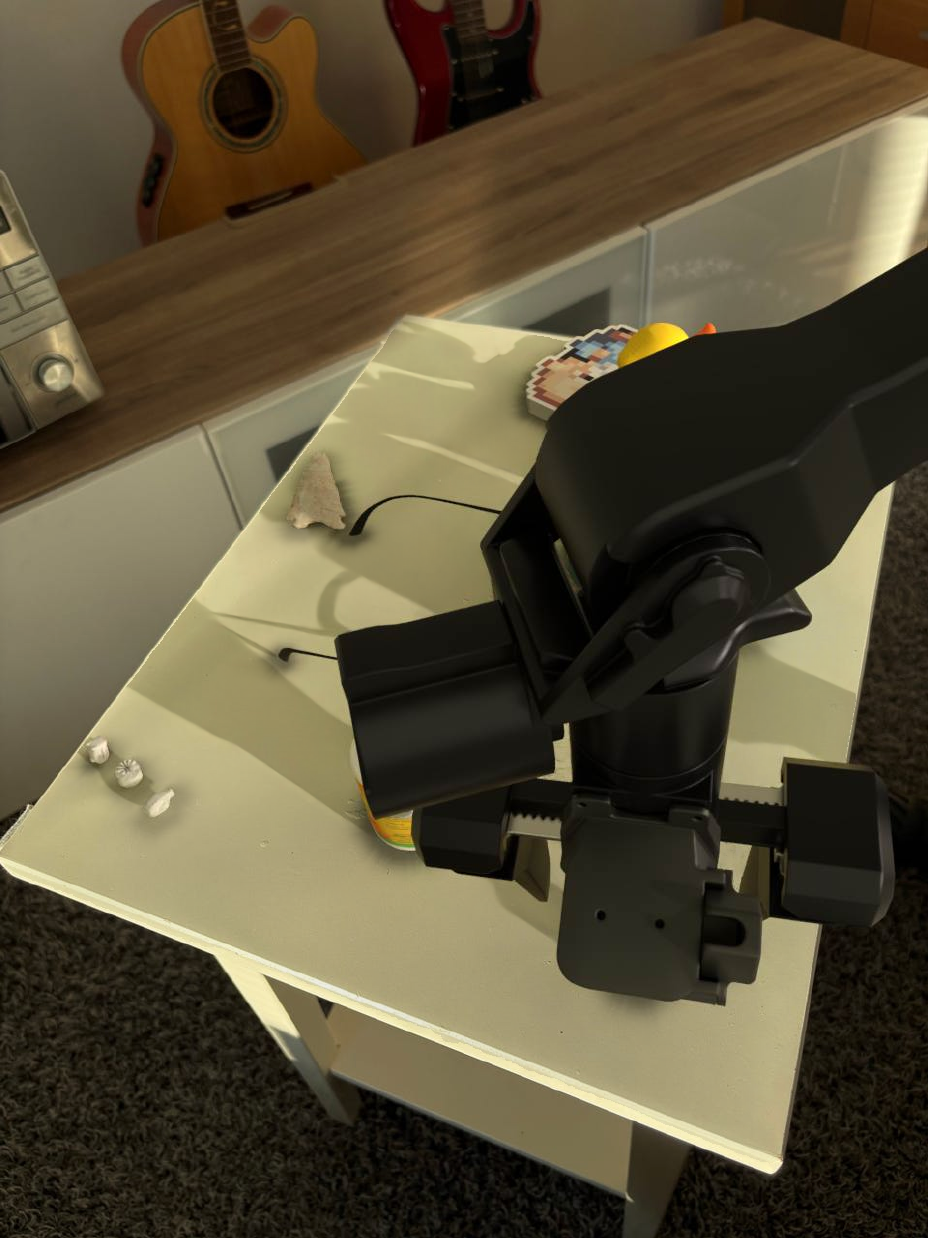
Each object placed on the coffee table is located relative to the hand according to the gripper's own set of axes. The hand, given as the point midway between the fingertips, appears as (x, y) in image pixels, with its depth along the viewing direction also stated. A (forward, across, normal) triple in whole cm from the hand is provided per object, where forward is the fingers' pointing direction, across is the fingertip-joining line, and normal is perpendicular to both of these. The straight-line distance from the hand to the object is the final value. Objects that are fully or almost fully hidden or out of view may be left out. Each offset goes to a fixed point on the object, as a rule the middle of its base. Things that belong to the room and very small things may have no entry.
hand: (640, 906), depth 46 cm
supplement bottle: (+7, -14, +7) cm, 17 cm away
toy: (+6, -12, +55) cm, 57 cm away
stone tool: (+6, -28, +31) cm, 42 cm away
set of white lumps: (+5, -33, +7) cm, 34 cm away
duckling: (+7, -4, +45) cm, 45 cm away
